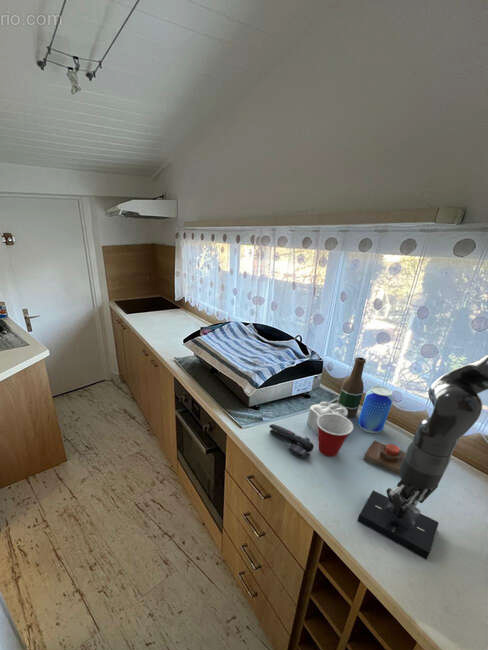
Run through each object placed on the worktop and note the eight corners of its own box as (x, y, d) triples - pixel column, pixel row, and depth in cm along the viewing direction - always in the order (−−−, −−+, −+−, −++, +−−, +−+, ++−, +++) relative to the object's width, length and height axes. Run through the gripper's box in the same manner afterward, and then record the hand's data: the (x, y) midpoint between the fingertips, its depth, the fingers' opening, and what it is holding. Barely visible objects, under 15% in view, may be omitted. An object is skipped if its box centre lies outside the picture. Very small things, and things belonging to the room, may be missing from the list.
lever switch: (435, 528, 77) (439, 521, 76) (426, 559, 70) (430, 552, 69) (370, 496, 86) (373, 489, 85) (357, 520, 79) (359, 513, 78)
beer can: (383, 425, 115) (396, 388, 108) (380, 437, 109) (394, 399, 102) (358, 418, 120) (369, 382, 112) (355, 429, 113) (366, 392, 106)
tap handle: (412, 528, 74) (421, 510, 71) (407, 529, 74) (416, 512, 71) (390, 507, 80) (397, 490, 77) (385, 508, 79) (392, 491, 77)
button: (399, 451, 97) (401, 447, 96) (396, 457, 95) (398, 453, 94) (386, 446, 99) (388, 442, 98) (383, 452, 97) (385, 447, 96)
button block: (413, 461, 98) (417, 452, 96) (405, 478, 92) (410, 468, 90) (372, 445, 106) (375, 435, 104) (363, 459, 99) (366, 450, 97)
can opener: (316, 454, 102) (319, 441, 99) (302, 462, 98) (305, 449, 96) (276, 428, 115) (278, 415, 112) (263, 434, 112) (264, 421, 109)
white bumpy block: (303, 420, 119) (307, 401, 115) (333, 416, 121) (337, 397, 117) (319, 437, 110) (324, 417, 106) (350, 432, 112) (356, 412, 108)
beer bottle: (331, 412, 123) (345, 358, 112) (340, 405, 128) (354, 352, 116) (351, 421, 118) (367, 364, 107) (359, 413, 123) (376, 358, 111)
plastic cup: (304, 451, 103) (310, 422, 98) (319, 437, 110) (326, 409, 104) (335, 467, 96) (344, 437, 91) (350, 452, 103) (359, 422, 97)
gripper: (415, 480, 63) (390, 534, 72) (464, 467, 67) (435, 520, 75) (385, 457, 70) (366, 509, 78) (432, 445, 73) (408, 497, 81)
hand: (400, 514), depth 76 cm, fingers closed on tap handle
